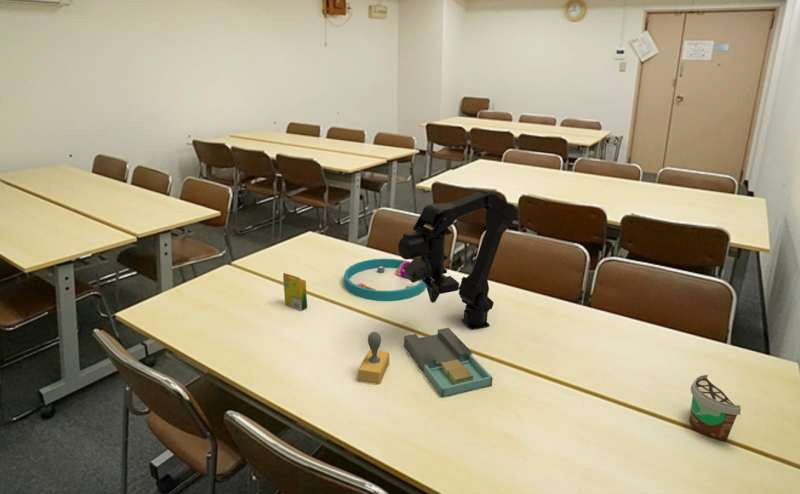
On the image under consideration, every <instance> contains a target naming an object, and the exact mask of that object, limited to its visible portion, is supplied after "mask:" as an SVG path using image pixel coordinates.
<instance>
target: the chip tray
mask: <svg viewBox="0 0 800 494" xmlns="http://www.w3.org/2000/svg"><path fill="white" fill-rule="evenodd" d="M460 363H461V364H462V365H463V366H464V367H466V368H467V369H468V371H469V372H470V373H471V374H472V375H473V381H468V382H464V383H460V384H455V385H453V383H452V382H451V381H450V380H449V378H447V377H446V376H445V375H444V373H443V372H442V371H441V370H440V367H441V366H440V367H436V368H431V369H429V368H428V366H427V365H424V373H423V374H424V376H425V377H426V378H427V380H428V381H429V382H430V384H431V385H432V386H433V388H434V389H435V391H436V392H437V393H438V394H439V395H440V397H441V399H442V398H447V397H451V396H454V395H459V394H463V393H467V392H471V391H472V392H473V391H475V390H479V389H485V388H488V387H492V386H493V376H492V375H491V374H490V373H489V372H488V371H487V369H485V368H484V367H483V366H482V364H481V363H479V361H478V360H477V359H476V357H474V356H473V355H470V356H469V360H468V361H464V362H460Z"/></svg>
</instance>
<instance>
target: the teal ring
mask: <svg viewBox="0 0 800 494" xmlns="http://www.w3.org/2000/svg"><path fill="white" fill-rule="evenodd" d="M411 262H412V261H407V260H405V259H404V260H403V259H396V258H373V259H367V260H362V261H359V262H355V263H354V264H352V265H350V266H349V267H348V268H347V269H345V272H344V275H343V282H344V283H343V284H344V287H345V289H346V290H347V291H348V293H349V294H352V295H353V296H355V297H357V298H361V299H365V300H369V301H375V302H397V301H398V302H399V301H403V300H408V299H412V298H414V297H417V296H419V295H420V294H422V293H423V292H425V290H427V287H426V284H425V283H424V282H423V281H422V280H421V281H420V282H419V283H417V284H415V285H413V284H411V283H408V284H406V285H405V286H404V287H406V288H401V289H394V290H393V289H392V290H378V289H376V288H372V287H371V286H367V284H366V283H363V282H362V283H353V282H352V280H351V278H352V277H353V276H354V275H356V274H358V273H361V272H364V271H368V270H372V269H377V272H379V273H384V272H385V269H396V270H395V271H394V273H395V275H396V276H397V277H398V276H399V277H402V278H406V279H408V278H407V277H406V274H405V271H404V267H405V266H407V265H409V264H410V263H411Z"/></svg>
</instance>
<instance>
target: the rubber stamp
mask: <svg viewBox="0 0 800 494" xmlns="http://www.w3.org/2000/svg"><path fill="white" fill-rule="evenodd" d="M367 344H368V346H369V348H370V349H369V350H368V351H367V353H366V355H365V357H364V359H363V360H362V362H361V364H360V366H359V368H358V372H357V373H358V382H359V381H361V382H360V383H366V382H367V383H366V384H372V383H373V385H380V384H381V382H382V380H383V379H384V376H385V373H386V372H387V369H388V368H389V365H390V352H389V351H383V350H379V349H380V346H381V344H382V336H381V334H380V333H379V332H377V331H372V332H371V333H369V334H368V336H367Z"/></svg>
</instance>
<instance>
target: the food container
mask: <svg viewBox="0 0 800 494" xmlns="http://www.w3.org/2000/svg"><path fill="white" fill-rule="evenodd" d="M708 376H709V375H708V374H702V375H699V376H698V377H696V378H695V380H694V381H693V382H692V384H691V386H690V393H691V395H692V398H691V405H690V413H689V419H688V420H689V421H688V422H689V423H690V425H691V426H692V428H693V429H694V430H696V431H697V432H698V433H700V434H701V435H703V436H705V437H708V438H710V439H714V440H719V441H727V440H728V438H729V435H730V434H731V431H732V428H733V426H734V424H735V421H736V418H737V416H740V415H741V410H742V409H741V405H740V404H734V403H733V402H732V400H730V399H729V397H728V396H727V395H726V394H725V393H724V391H722V390H721V389H720V388H718V387H717V386H716V385H714V384H713V383H712V382H711V380H709V379H708Z"/></svg>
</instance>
